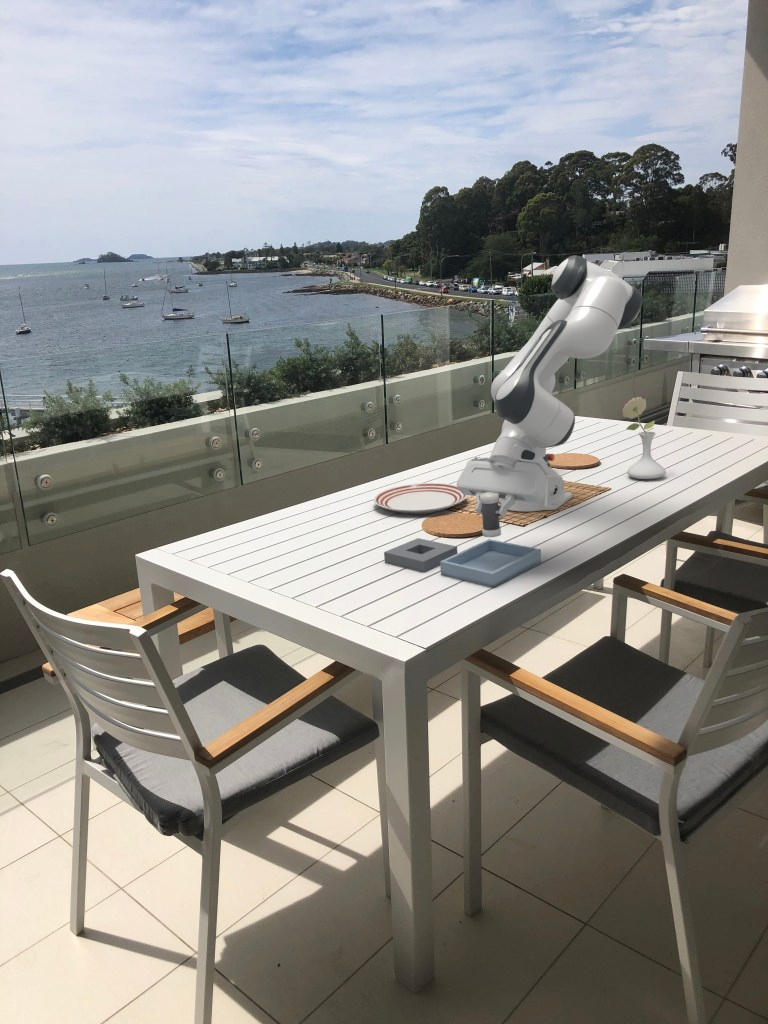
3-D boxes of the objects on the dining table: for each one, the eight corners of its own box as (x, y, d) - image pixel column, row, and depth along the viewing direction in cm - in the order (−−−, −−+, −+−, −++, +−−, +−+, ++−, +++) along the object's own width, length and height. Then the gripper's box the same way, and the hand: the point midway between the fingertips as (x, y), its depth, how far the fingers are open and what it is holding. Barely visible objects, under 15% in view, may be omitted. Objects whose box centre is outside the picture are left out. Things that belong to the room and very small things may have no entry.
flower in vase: (660, 472, 237) (663, 392, 231) (670, 481, 227) (672, 397, 220) (617, 474, 239) (618, 395, 232) (625, 483, 228) (626, 400, 221)
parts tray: (489, 551, 178) (489, 539, 177) (540, 562, 169) (540, 549, 168) (440, 574, 166) (440, 561, 165) (493, 587, 156) (492, 573, 156)
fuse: (489, 530, 167) (487, 491, 165) (504, 533, 165) (502, 493, 162) (478, 535, 165) (476, 495, 162) (493, 538, 162) (491, 497, 160)
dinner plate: (463, 518, 206) (462, 506, 205) (365, 519, 212) (364, 508, 211) (472, 492, 232) (472, 481, 231) (385, 494, 237) (384, 483, 237)
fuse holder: (418, 547, 184) (418, 538, 183) (457, 556, 176) (457, 546, 175) (384, 562, 176) (384, 552, 175) (424, 572, 168) (423, 561, 167)
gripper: (464, 449, 172) (442, 501, 167) (546, 454, 159) (525, 511, 155) (475, 464, 176) (455, 515, 172) (556, 470, 164) (536, 526, 159)
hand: (489, 513), depth 163 cm, fingers closed on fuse, 4 cm apart
